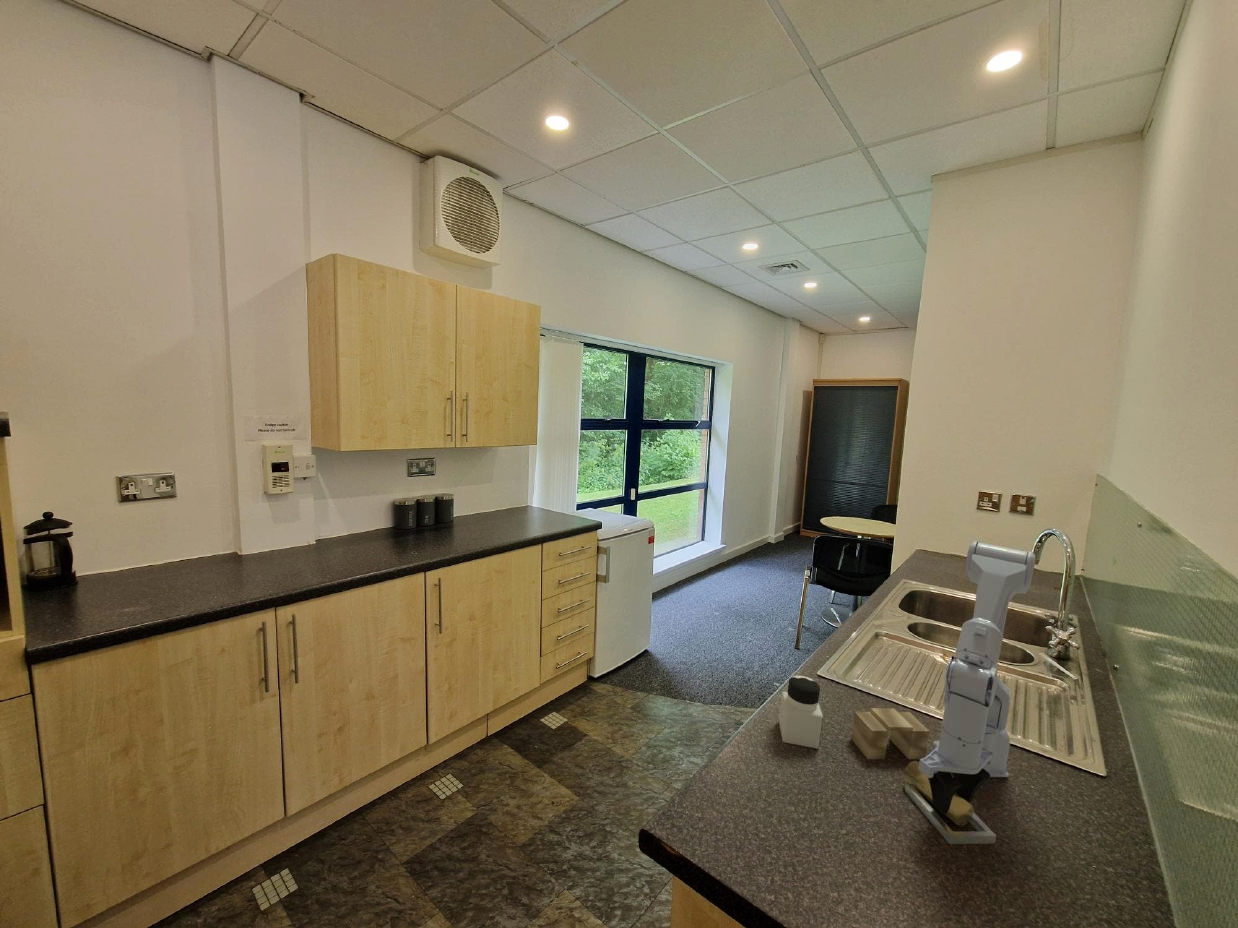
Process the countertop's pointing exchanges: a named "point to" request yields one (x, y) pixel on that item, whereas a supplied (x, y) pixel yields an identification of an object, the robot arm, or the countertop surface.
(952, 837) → the cradle
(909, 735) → the wooden stepped block
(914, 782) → the axle
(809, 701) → the medicine bottle
